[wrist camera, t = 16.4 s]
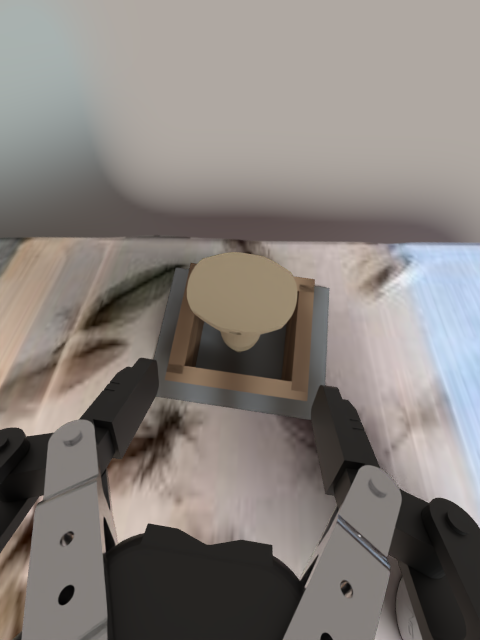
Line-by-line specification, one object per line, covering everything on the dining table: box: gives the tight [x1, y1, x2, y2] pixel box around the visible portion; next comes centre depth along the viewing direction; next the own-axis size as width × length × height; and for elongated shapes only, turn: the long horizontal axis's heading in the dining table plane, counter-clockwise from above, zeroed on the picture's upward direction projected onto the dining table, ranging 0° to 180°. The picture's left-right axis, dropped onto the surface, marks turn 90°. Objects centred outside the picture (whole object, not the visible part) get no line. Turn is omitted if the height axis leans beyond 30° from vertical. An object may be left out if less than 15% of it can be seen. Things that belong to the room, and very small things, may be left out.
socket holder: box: [154, 263, 329, 420], centre depth 26 cm, size 20×16×6 cm
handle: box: [187, 252, 297, 352], centre depth 21 cm, size 5×6×15 cm
